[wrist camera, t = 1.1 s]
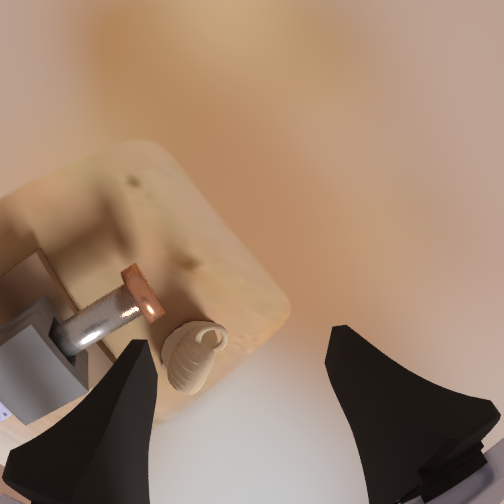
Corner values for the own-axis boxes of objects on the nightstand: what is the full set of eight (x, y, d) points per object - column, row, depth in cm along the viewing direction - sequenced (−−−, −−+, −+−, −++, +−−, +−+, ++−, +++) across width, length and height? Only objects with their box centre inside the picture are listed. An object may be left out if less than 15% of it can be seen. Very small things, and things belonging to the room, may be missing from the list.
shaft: (52, 364, 17) (48, 395, 14) (22, 327, 16) (11, 354, 12) (159, 300, 21) (170, 323, 18) (133, 256, 19) (139, 272, 16)
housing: (42, 405, 19) (38, 453, 13) (-36, 308, 14) (-65, 344, 8) (118, 362, 22) (127, 410, 17) (40, 247, 17) (16, 272, 12)
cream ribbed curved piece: (150, 370, 24) (163, 407, 19) (187, 295, 24) (209, 322, 20) (187, 380, 26) (205, 415, 22) (225, 310, 26) (252, 337, 22)
